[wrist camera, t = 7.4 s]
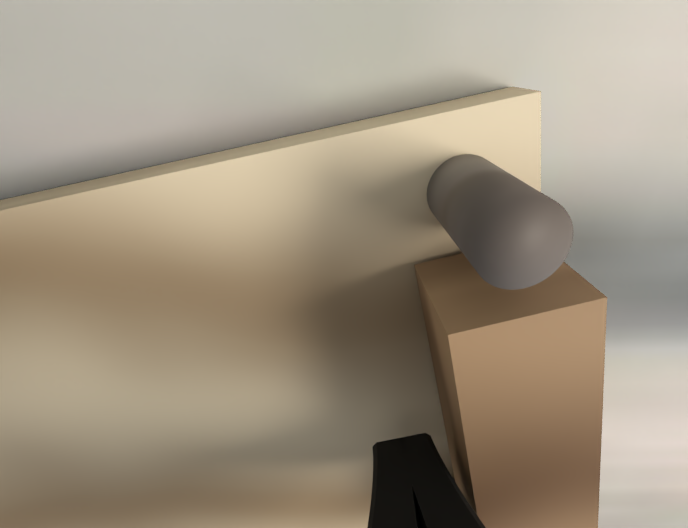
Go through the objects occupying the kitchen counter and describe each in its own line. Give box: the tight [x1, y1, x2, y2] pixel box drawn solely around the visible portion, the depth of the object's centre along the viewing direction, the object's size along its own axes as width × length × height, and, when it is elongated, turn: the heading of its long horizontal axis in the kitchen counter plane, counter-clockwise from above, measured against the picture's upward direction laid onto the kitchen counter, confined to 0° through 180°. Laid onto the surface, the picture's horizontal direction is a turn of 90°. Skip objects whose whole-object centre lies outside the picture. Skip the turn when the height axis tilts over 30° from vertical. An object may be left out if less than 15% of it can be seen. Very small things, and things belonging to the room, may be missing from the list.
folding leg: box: [414, 253, 607, 528], centre depth 9 cm, size 8×3×3 cm, turn 14°
